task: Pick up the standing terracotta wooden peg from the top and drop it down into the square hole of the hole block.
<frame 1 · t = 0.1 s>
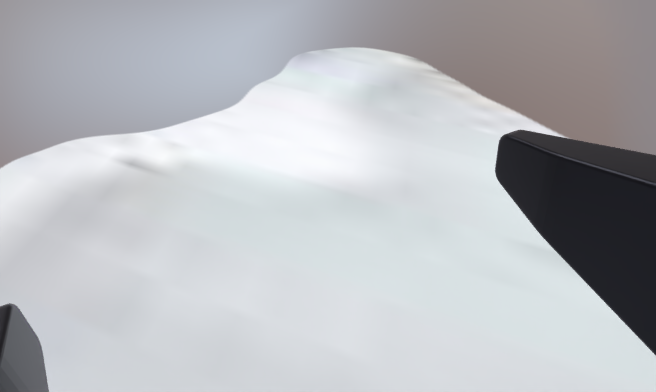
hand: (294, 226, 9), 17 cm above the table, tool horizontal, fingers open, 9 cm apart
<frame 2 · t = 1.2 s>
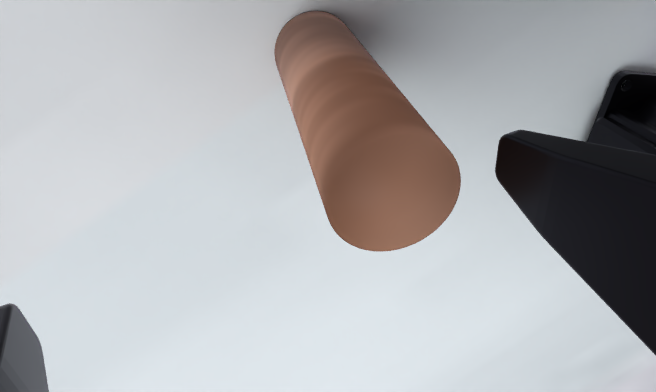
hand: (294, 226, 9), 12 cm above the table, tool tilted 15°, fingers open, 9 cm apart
terracotta peg: (314, 52, 19), on the table
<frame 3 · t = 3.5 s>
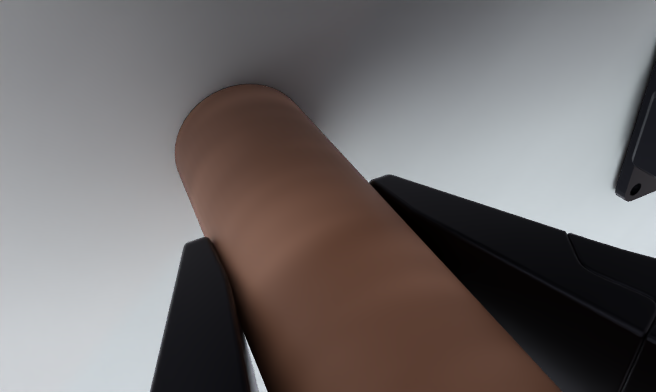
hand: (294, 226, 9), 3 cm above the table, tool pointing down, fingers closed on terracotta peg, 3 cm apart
terracotta peg: (244, 148, 11), on the table, touching gripper
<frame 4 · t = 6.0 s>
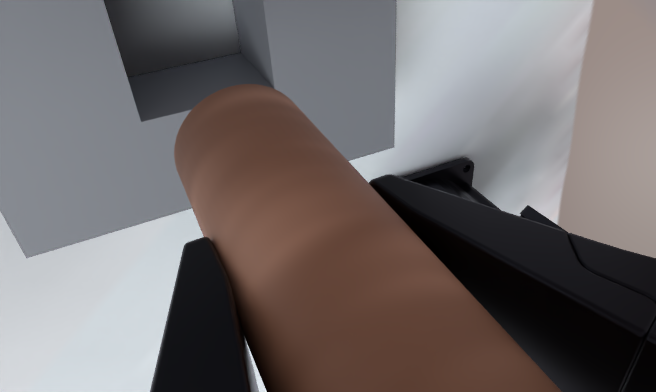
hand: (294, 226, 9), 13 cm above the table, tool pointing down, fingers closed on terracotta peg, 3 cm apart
terracotta peg: (243, 148, 11), point 10 cm above the table, touching gripper
hole block: (171, 5, 19), on the table
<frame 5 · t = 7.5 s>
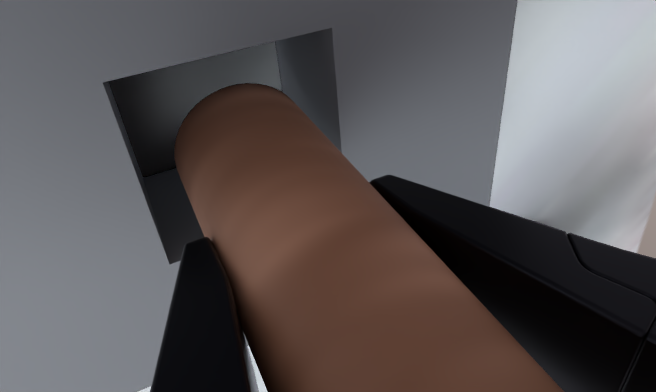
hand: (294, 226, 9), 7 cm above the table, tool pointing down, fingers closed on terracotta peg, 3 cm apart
terracotta peg: (243, 148, 11), point 4 cm above the table, touching gripper
hole block: (201, 86, 14), on the table
when the fingers open (5 cm above the table, at t = 8.8 s): terracotta peg drops 2 cm, resting in hole block.
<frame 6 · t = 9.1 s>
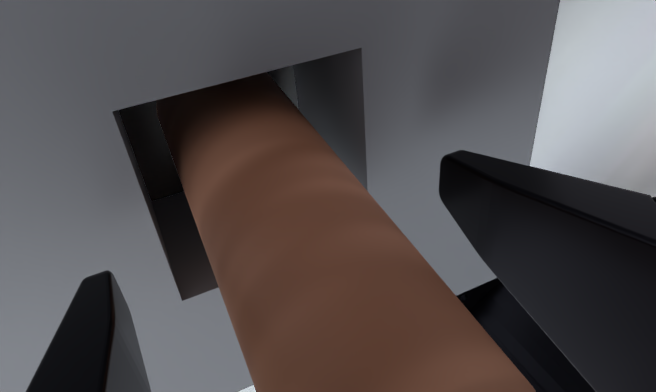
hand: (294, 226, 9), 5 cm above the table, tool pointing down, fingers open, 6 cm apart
terracotta peg: (217, 104, 13), resting in hole block
hole block: (214, 104, 13), on the table
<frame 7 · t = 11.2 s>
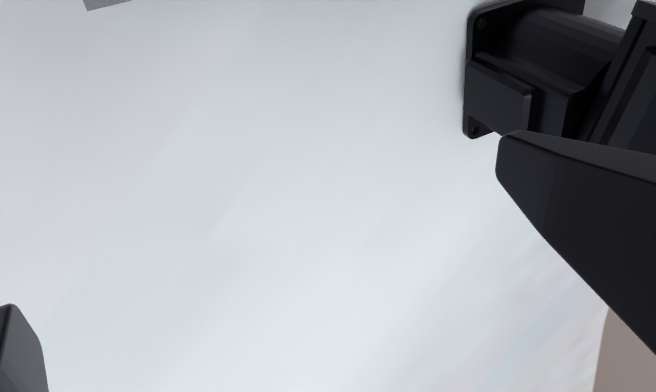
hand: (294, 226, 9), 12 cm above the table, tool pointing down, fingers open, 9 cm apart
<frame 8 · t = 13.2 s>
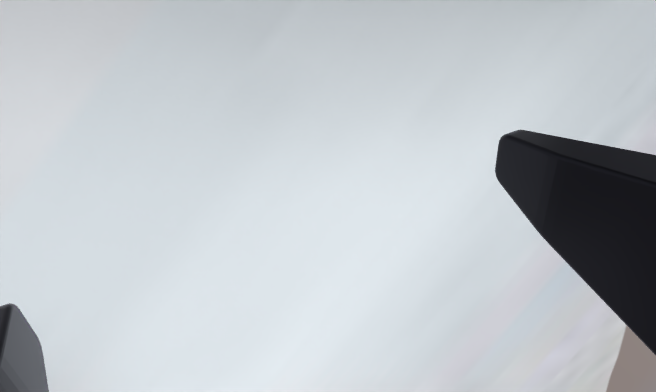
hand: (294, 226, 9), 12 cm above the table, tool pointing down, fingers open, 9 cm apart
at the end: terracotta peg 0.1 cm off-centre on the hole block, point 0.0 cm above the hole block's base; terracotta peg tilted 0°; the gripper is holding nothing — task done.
